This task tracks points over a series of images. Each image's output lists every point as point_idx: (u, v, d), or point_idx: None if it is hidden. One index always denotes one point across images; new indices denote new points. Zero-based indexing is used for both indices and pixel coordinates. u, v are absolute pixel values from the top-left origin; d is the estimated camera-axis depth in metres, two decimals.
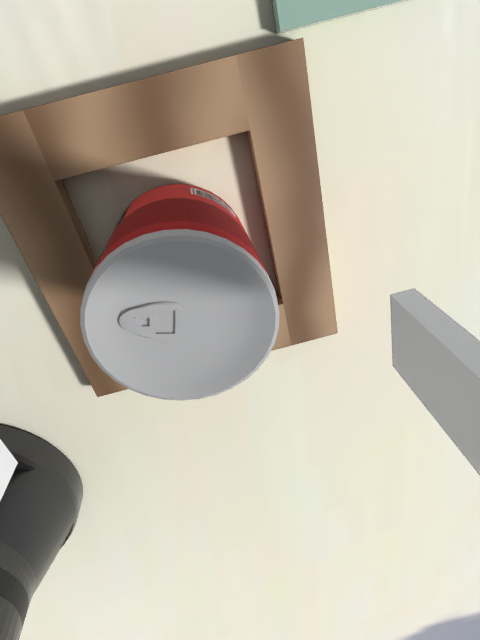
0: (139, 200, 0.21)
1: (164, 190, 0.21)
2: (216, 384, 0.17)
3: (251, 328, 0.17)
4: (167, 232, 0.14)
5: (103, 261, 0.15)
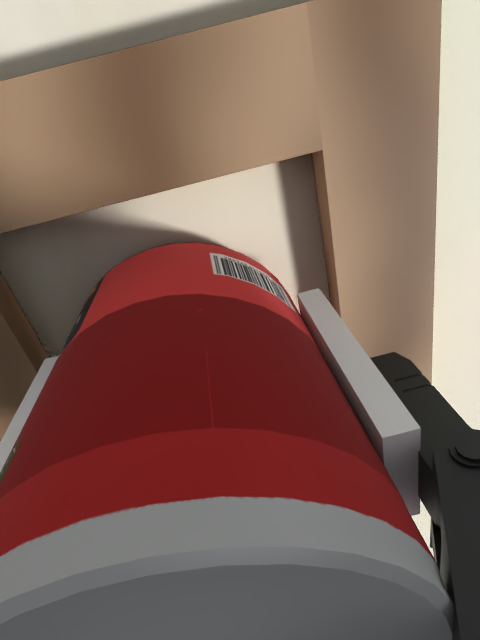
0: (115, 281, 0.11)
1: (162, 262, 0.11)
2: None
3: None
4: (162, 520, 0.04)
5: None
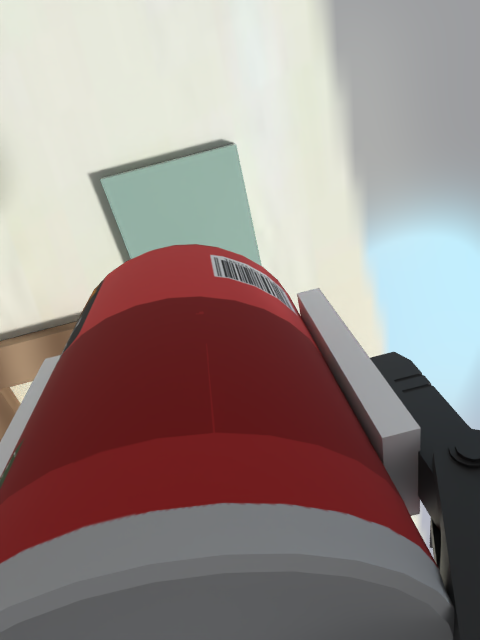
0: (115, 283, 0.11)
1: (162, 265, 0.11)
2: None
3: None
4: (163, 527, 0.04)
5: None
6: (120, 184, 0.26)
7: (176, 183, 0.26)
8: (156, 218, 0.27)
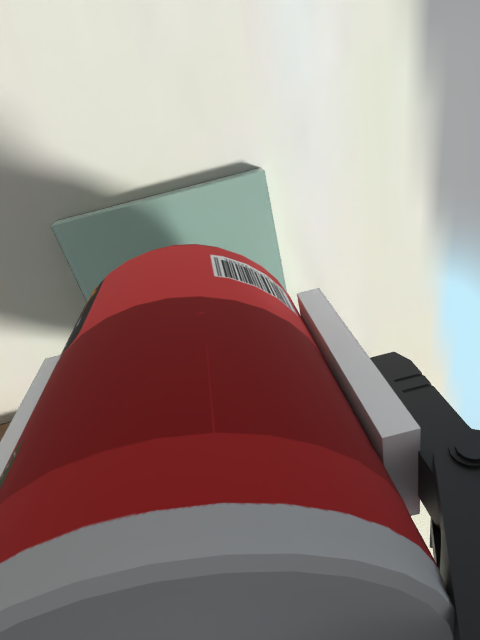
0: (115, 283, 0.11)
1: (162, 264, 0.11)
2: None
3: None
4: (163, 527, 0.04)
5: None
6: (83, 232, 0.16)
7: (171, 229, 0.17)
8: None
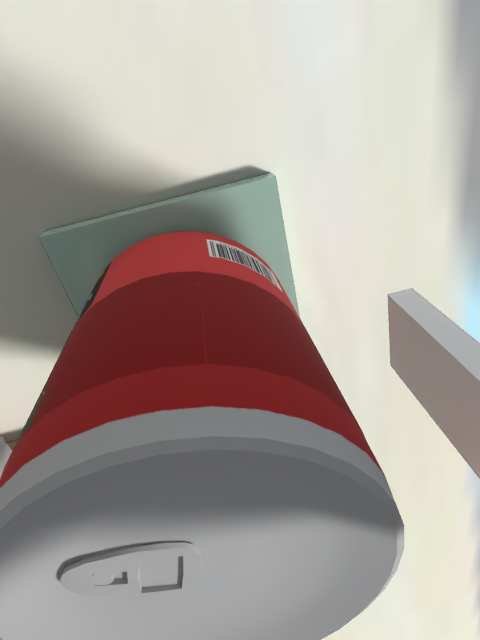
0: (122, 263, 0.13)
1: (164, 247, 0.13)
2: None
3: (340, 567, 0.08)
4: (168, 420, 0.06)
5: (13, 480, 0.06)
6: (75, 244, 0.15)
7: None
8: None
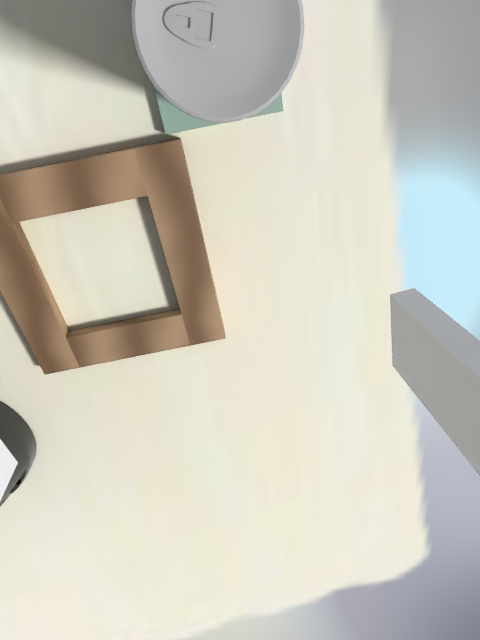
0: None
1: None
2: (242, 107, 0.20)
3: (278, 46, 0.19)
4: None
5: None
6: None
7: None
8: None
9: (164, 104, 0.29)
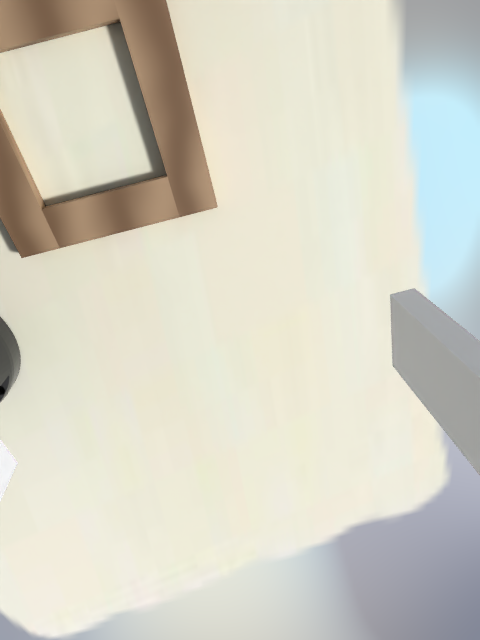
0: None
1: None
2: None
3: None
4: None
5: None
6: None
7: None
8: None
9: None
